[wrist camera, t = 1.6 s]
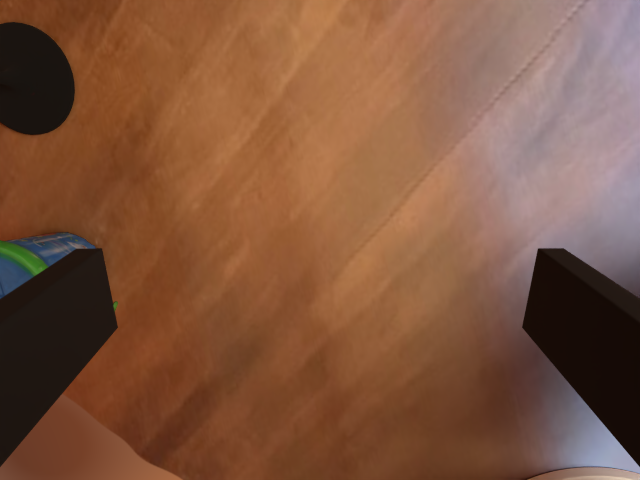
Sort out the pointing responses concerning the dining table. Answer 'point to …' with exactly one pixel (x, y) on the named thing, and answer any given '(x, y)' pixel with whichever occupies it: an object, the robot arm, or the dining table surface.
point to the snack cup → (34, 257)
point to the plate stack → (588, 474)
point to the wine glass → (33, 80)
